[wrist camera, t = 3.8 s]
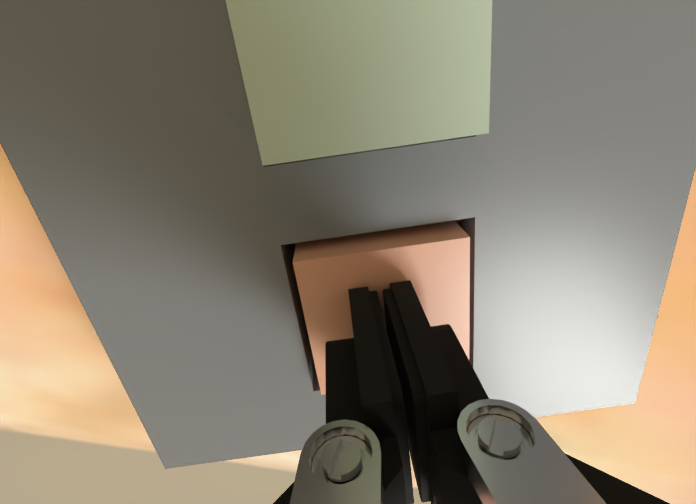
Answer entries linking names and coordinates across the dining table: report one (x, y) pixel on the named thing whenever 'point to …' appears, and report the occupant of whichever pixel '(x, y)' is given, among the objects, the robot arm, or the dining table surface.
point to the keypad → (348, 206)
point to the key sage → (362, 73)
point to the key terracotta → (383, 279)
